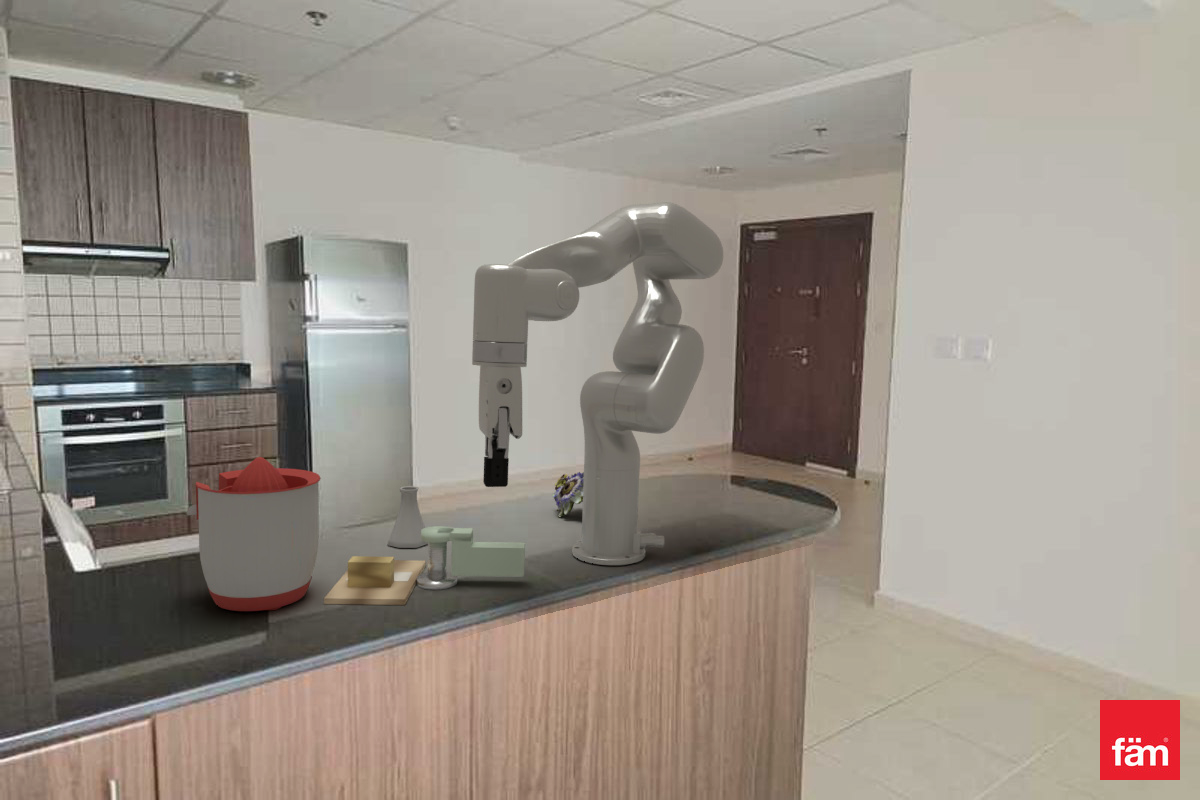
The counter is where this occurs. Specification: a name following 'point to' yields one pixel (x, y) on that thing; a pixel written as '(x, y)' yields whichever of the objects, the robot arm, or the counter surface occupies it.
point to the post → (437, 569)
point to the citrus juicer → (258, 535)
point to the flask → (408, 521)
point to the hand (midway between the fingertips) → (495, 485)
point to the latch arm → (478, 553)
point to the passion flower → (568, 492)
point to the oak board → (378, 592)
